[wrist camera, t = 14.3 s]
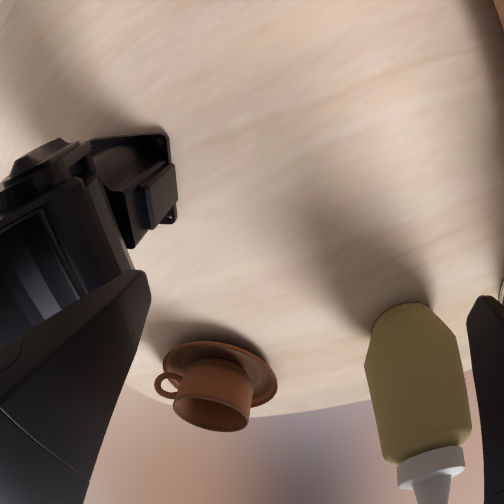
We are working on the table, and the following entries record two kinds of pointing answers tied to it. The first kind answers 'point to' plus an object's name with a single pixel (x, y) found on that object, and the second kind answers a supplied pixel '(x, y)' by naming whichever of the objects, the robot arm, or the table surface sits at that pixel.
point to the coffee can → (502, 294)
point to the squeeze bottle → (419, 399)
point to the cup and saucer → (216, 384)
